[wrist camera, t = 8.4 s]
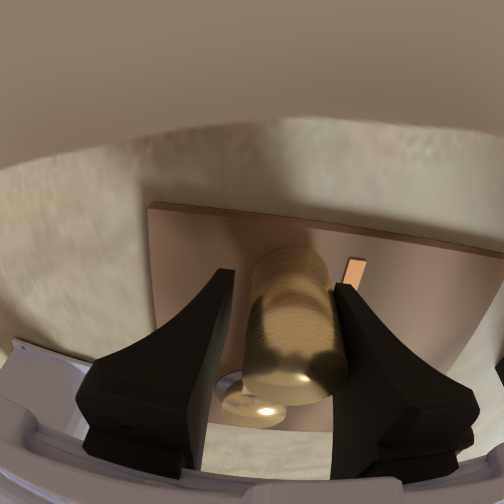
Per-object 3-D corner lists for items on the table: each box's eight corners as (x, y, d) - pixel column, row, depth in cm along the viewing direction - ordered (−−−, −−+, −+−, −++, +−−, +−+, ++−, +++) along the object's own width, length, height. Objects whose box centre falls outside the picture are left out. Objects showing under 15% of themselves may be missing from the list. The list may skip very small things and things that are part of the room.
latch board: (172, 407, 23) (170, 416, 22) (153, 201, 14) (146, 209, 13) (398, 421, 22) (400, 430, 22) (505, 253, 14) (513, 262, 13)
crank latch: (278, 416, 20) (276, 489, 15) (221, 409, 20) (209, 482, 15) (344, 247, 13) (377, 349, 8) (250, 231, 13) (234, 332, 8)
